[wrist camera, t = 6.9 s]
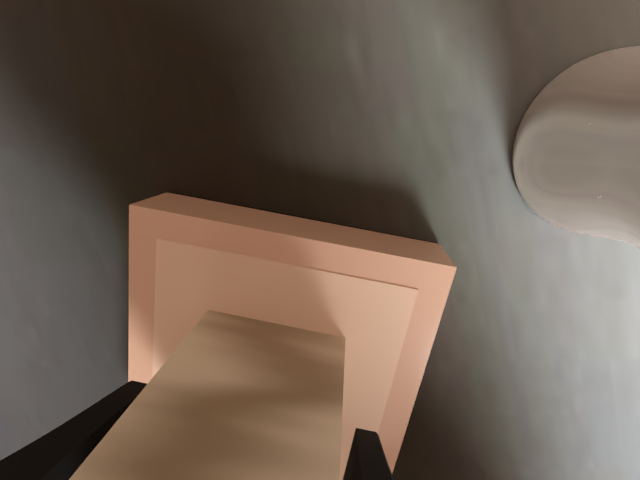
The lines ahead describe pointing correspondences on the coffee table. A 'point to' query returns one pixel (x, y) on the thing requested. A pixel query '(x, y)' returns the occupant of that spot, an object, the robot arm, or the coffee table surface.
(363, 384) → the plate
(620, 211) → the beer glass
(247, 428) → the maple block
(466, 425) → the coffee table surface
